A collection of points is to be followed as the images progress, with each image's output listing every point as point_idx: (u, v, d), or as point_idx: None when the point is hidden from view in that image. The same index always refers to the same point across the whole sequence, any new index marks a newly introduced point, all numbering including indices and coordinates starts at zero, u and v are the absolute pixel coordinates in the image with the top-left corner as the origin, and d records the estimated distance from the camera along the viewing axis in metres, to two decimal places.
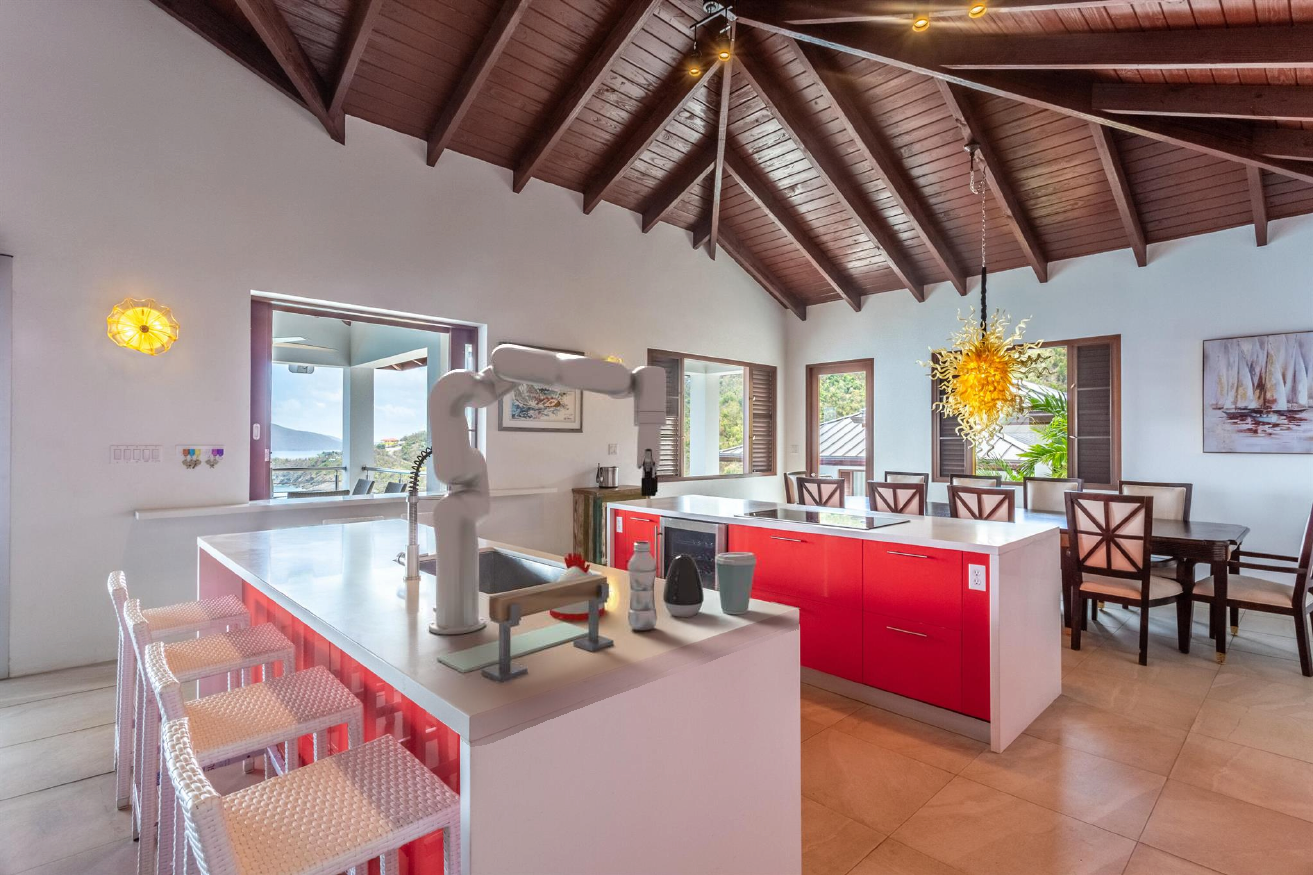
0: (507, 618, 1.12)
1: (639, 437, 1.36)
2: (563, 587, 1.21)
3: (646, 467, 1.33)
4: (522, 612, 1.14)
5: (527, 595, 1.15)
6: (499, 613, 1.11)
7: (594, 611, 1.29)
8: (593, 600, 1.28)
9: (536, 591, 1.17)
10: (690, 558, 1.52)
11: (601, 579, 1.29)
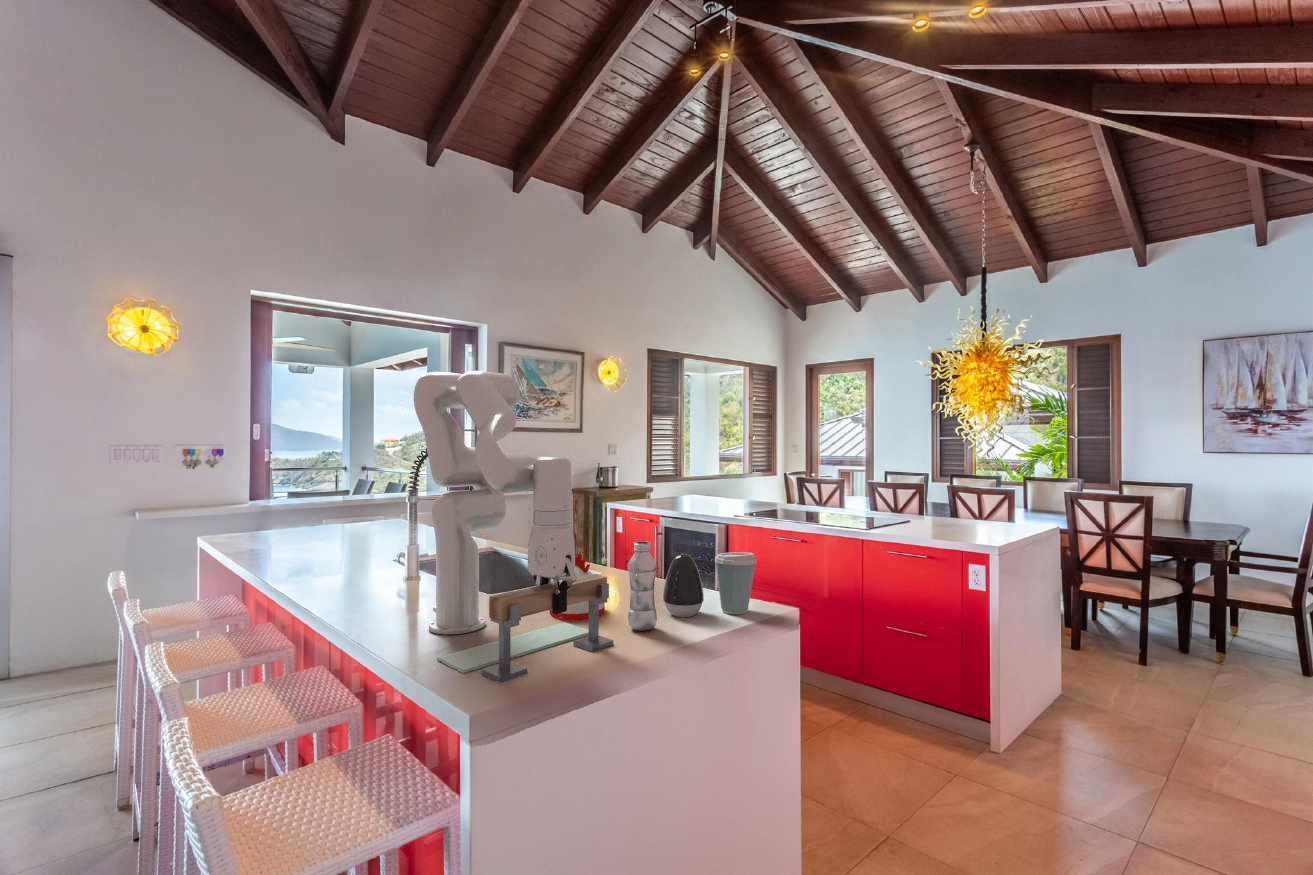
0: (507, 618, 1.12)
1: (558, 542, 1.17)
2: None
3: (568, 584, 1.18)
4: (522, 612, 1.14)
5: (527, 595, 1.15)
6: (499, 613, 1.11)
7: (594, 611, 1.29)
8: (593, 600, 1.28)
9: (536, 591, 1.17)
10: (690, 558, 1.52)
11: (601, 579, 1.29)
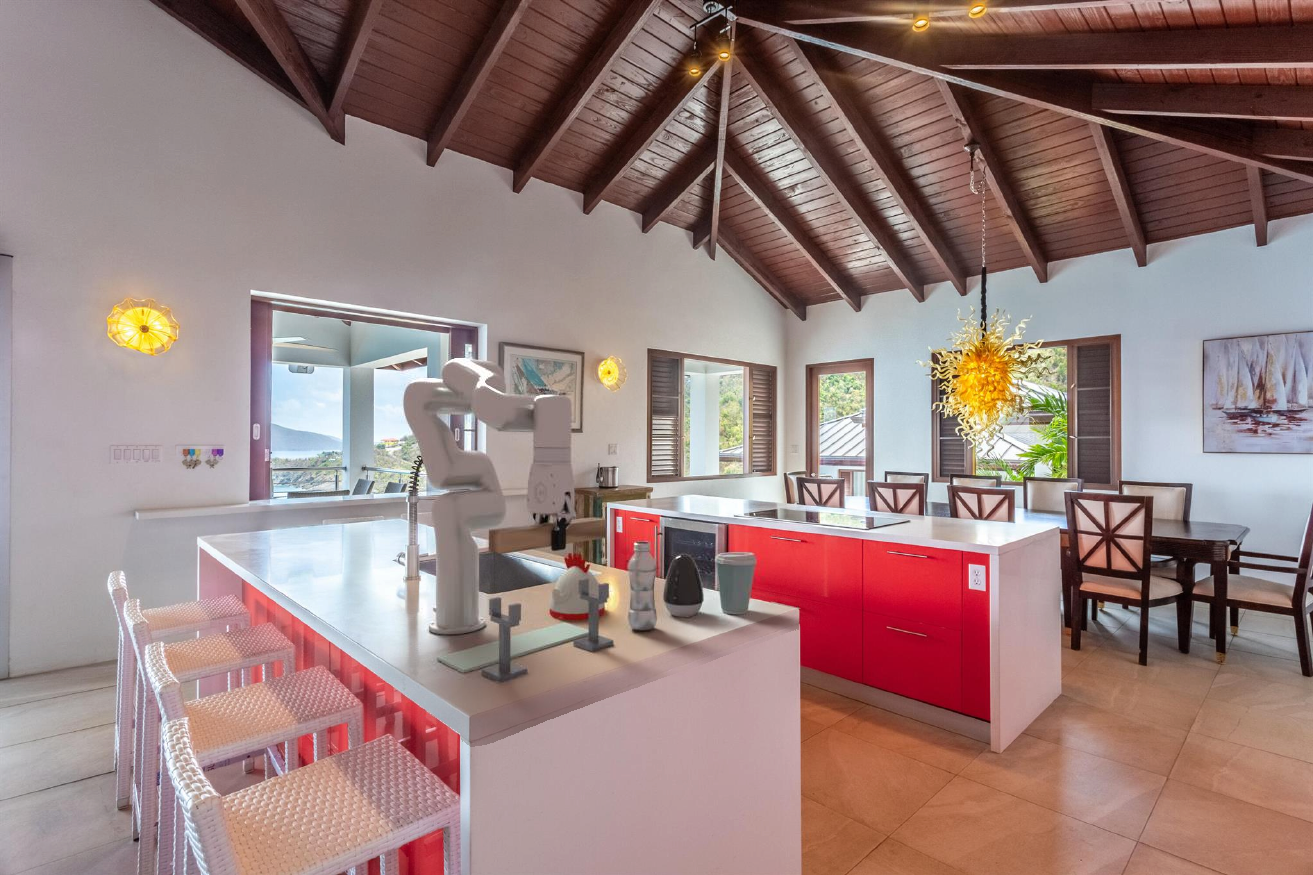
0: (506, 551, 1.12)
1: (558, 478, 1.17)
2: None
3: (567, 521, 1.18)
4: (521, 546, 1.14)
5: (526, 530, 1.15)
6: (498, 545, 1.11)
7: (594, 611, 1.29)
8: (593, 600, 1.28)
9: (535, 527, 1.17)
10: (690, 558, 1.52)
11: (600, 521, 1.29)
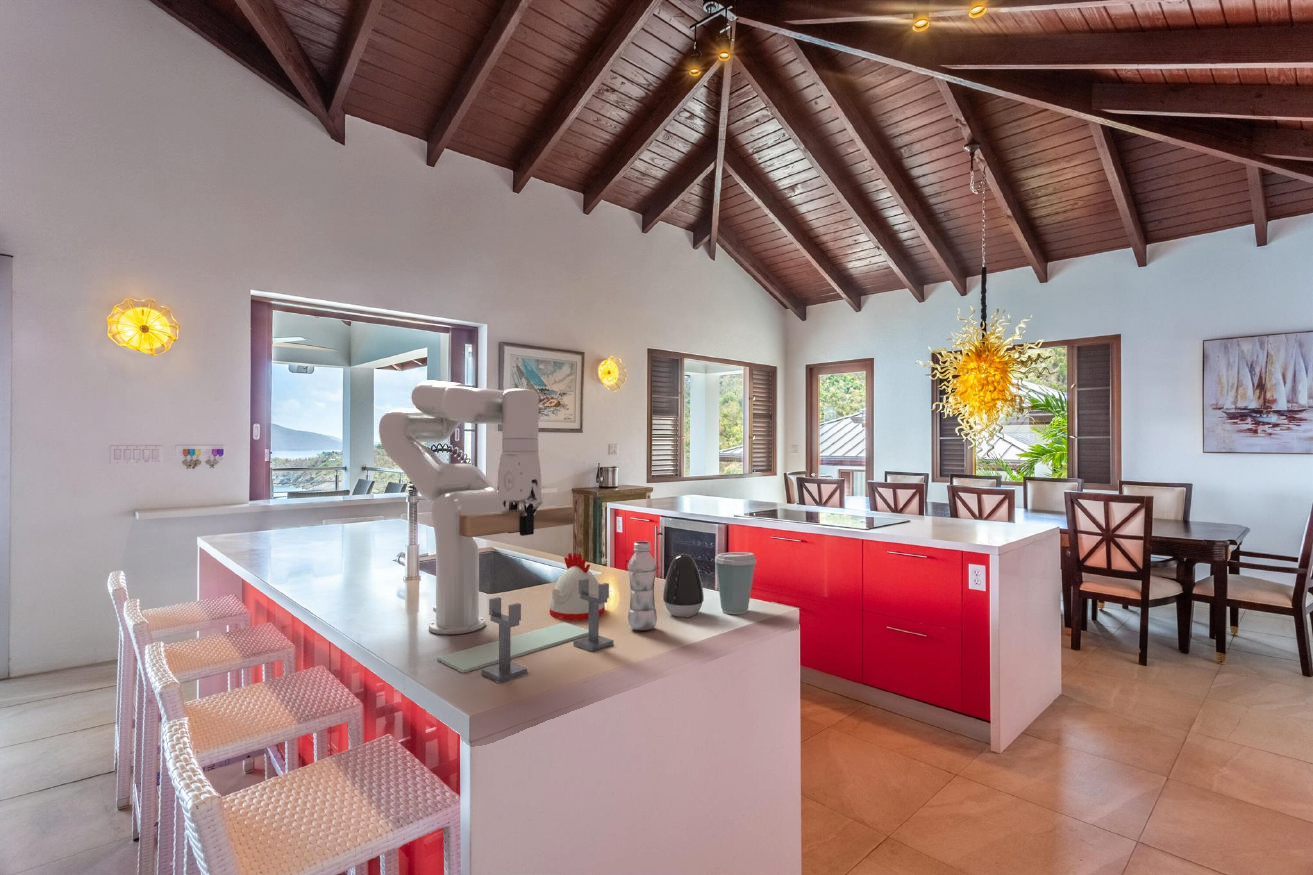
0: (475, 534, 1.19)
1: (524, 467, 1.25)
2: None
3: (534, 507, 1.25)
4: (490, 530, 1.22)
5: (495, 515, 1.22)
6: (468, 529, 1.19)
7: (594, 611, 1.29)
8: (593, 600, 1.28)
9: (504, 513, 1.25)
10: (690, 558, 1.52)
11: (568, 508, 1.36)
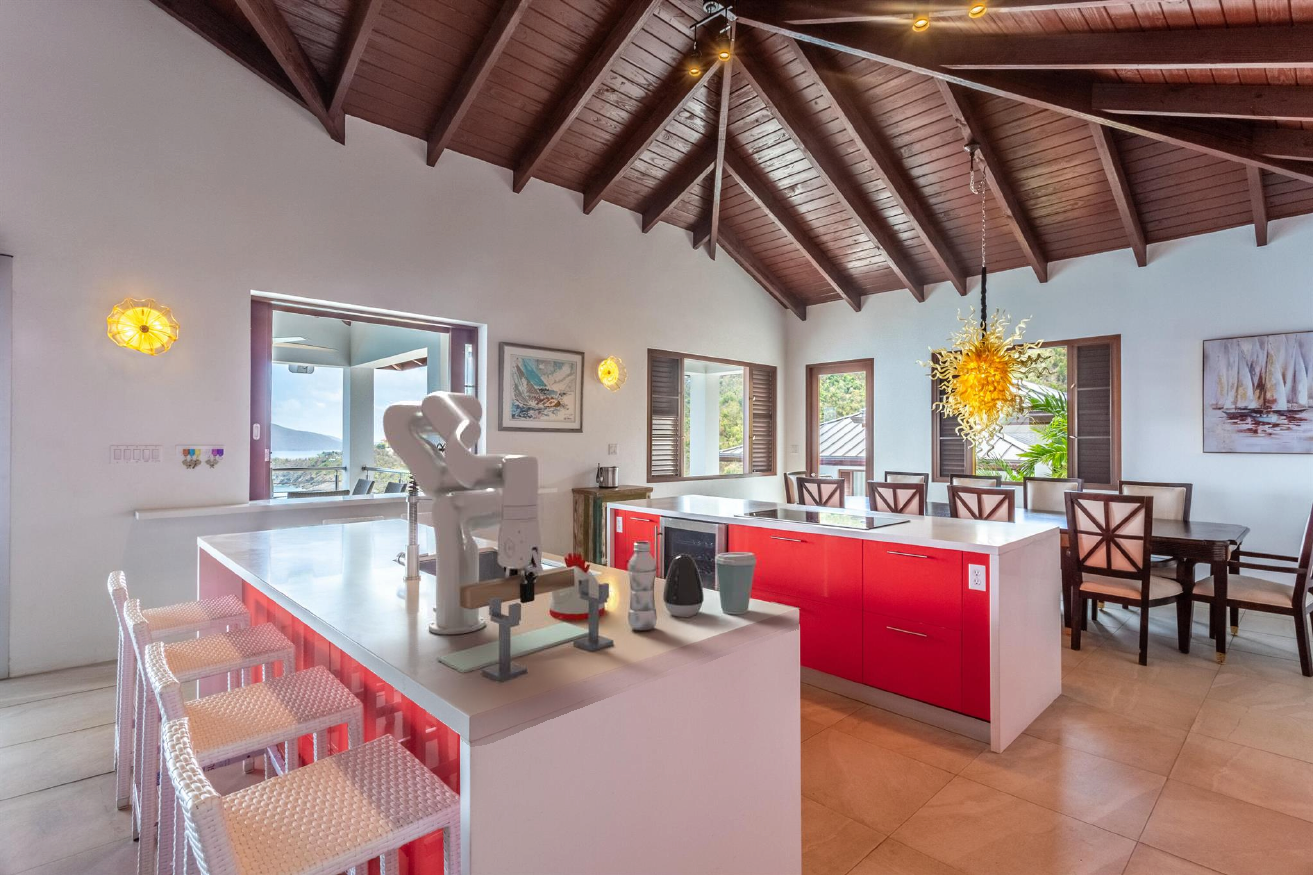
0: (476, 606, 1.19)
1: (524, 535, 1.24)
2: None
3: (535, 575, 1.25)
4: None
5: (495, 585, 1.22)
6: (468, 601, 1.18)
7: (594, 611, 1.29)
8: (593, 600, 1.28)
9: (504, 581, 1.24)
10: (690, 558, 1.52)
11: (568, 570, 1.36)
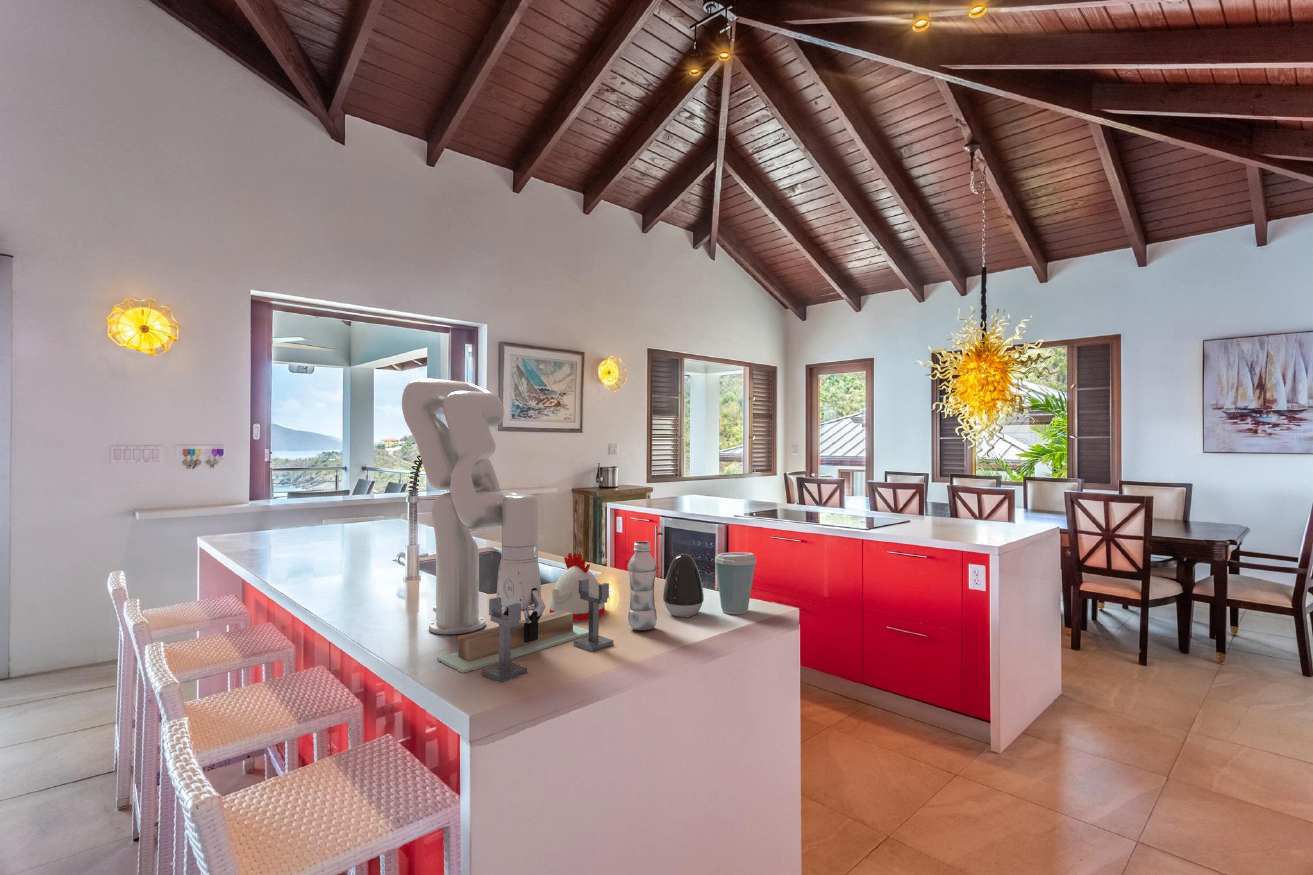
0: (474, 658, 1.19)
1: (524, 576, 1.24)
2: None
3: (538, 613, 1.24)
4: (489, 651, 1.21)
5: (494, 635, 1.22)
6: (467, 653, 1.19)
7: (594, 611, 1.29)
8: (593, 600, 1.28)
9: None
10: (690, 558, 1.52)
11: (567, 616, 1.36)
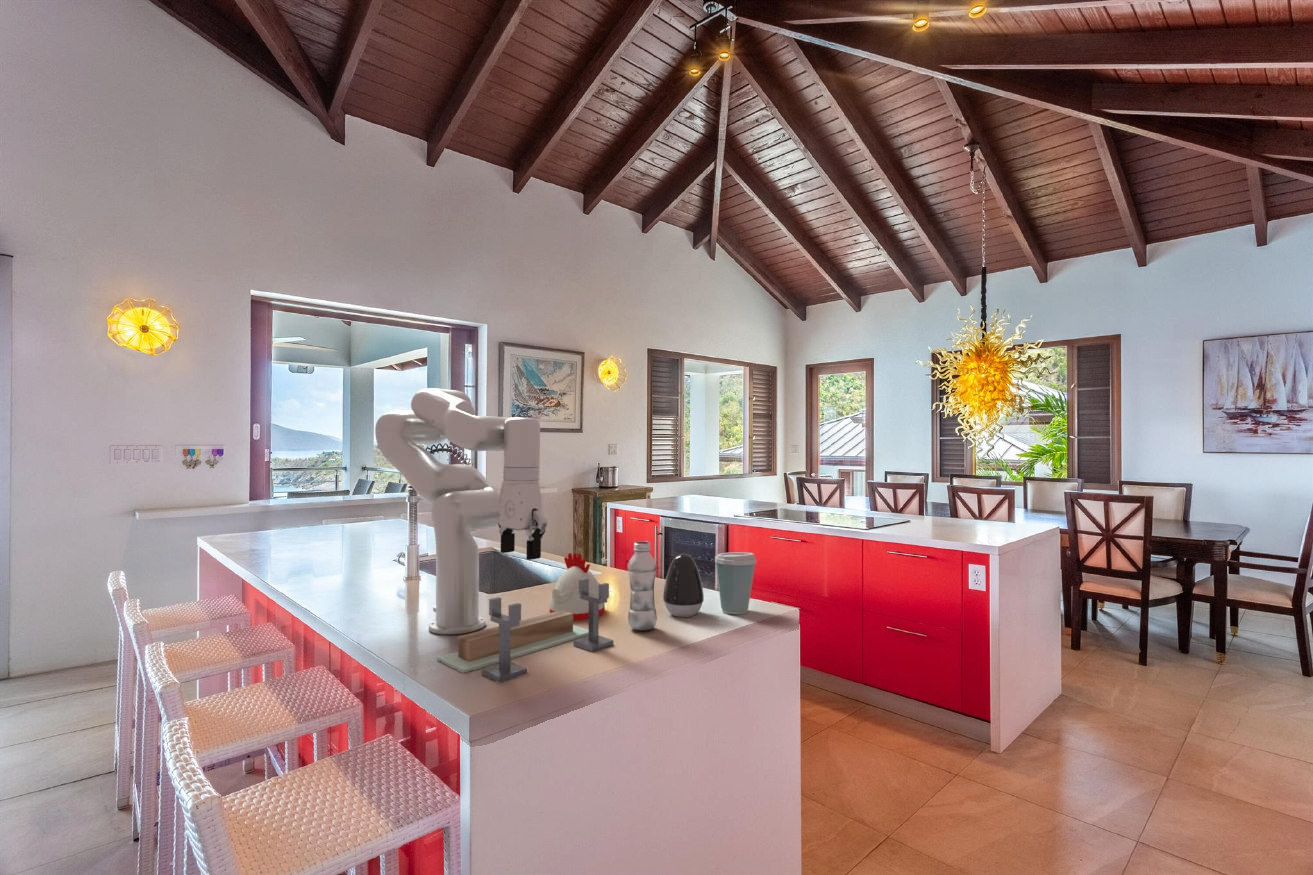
0: (474, 658, 1.19)
1: (525, 496, 1.25)
2: (529, 625, 1.29)
3: (541, 529, 1.24)
4: (489, 651, 1.21)
5: (494, 635, 1.22)
6: (467, 653, 1.19)
7: (594, 611, 1.29)
8: (593, 600, 1.28)
9: None
10: (690, 558, 1.52)
11: (567, 616, 1.36)
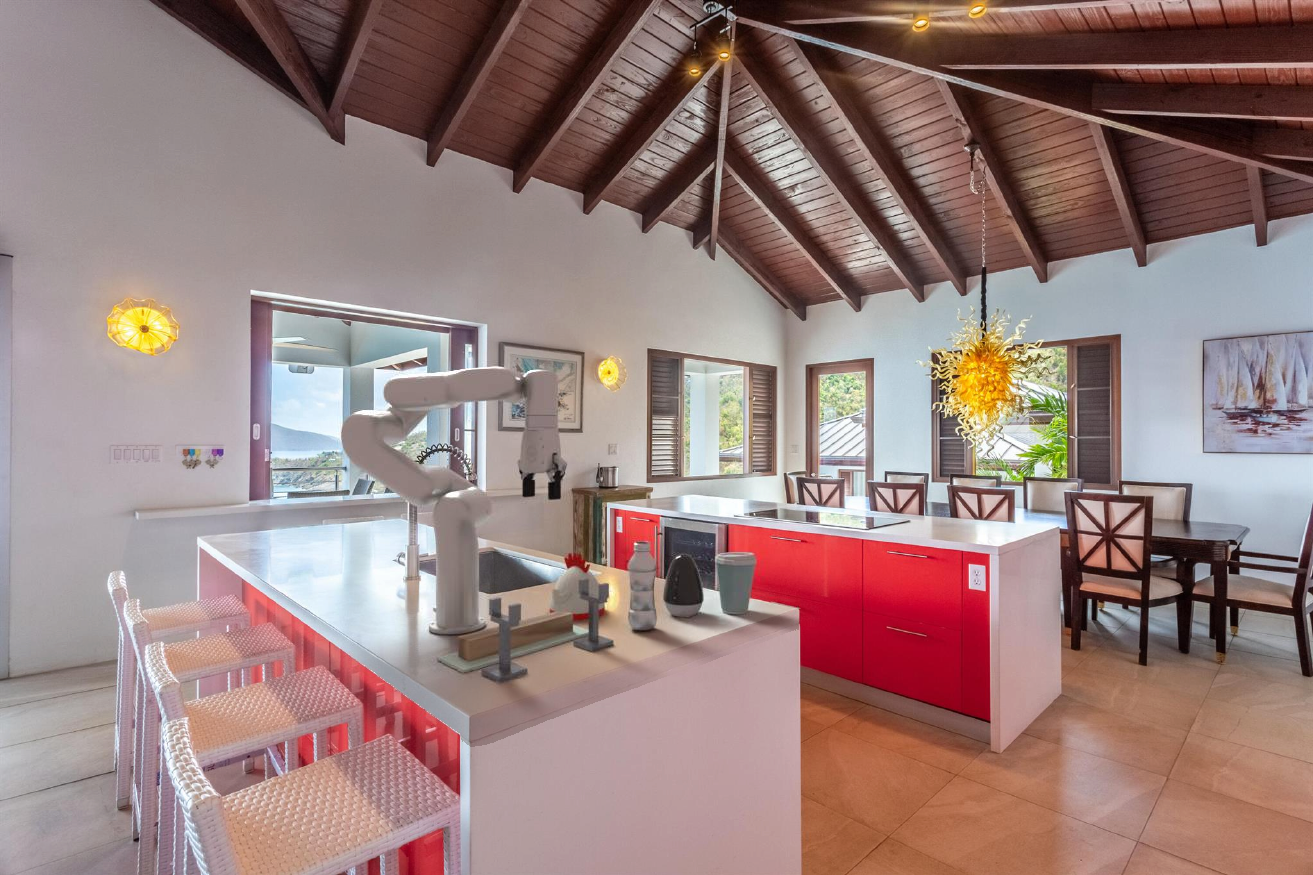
0: (474, 658, 1.19)
1: (546, 441, 1.36)
2: (529, 625, 1.29)
3: (562, 471, 1.35)
4: (489, 651, 1.21)
5: (494, 635, 1.22)
6: (467, 653, 1.19)
7: (594, 611, 1.29)
8: (593, 600, 1.28)
9: None
10: (690, 558, 1.52)
11: (567, 616, 1.36)
